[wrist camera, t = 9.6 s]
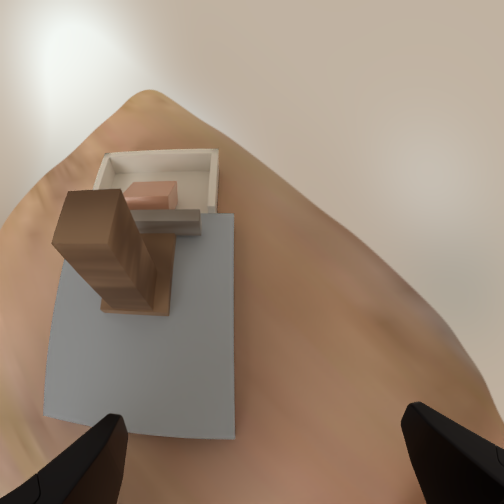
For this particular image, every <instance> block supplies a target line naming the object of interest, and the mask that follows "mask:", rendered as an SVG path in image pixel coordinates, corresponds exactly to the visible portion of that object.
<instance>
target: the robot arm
mask: <svg viewBox="0 0 504 504" xmlns="http://www.w3.org/2000/svg"><path fill="white" fill-rule="evenodd" d="M401 428H402V431H403V435H404V439H405V442H406V446H407V450H408V453H409V457H410V461H411V463H412V466H413V469H414V471H415V474H416V477H417V479H418V482H419V484H420V487H421V490H422V492H423V495H424V498H425V500H426V503H427V504H504V449H502V448H500V447H499V446H495V444H493V443H491V442H489V441H488V440H486V439H484V438H482V437H480V436H479V435H477V434H475V433H473V432H472V431H470V430H468V429H466V428H465V427H463V426H461V425H459V424H458V423H456V422H454V421H453V420H451V419H449V418H447V417H446V416H444V415H442V414H441V413H439V412H437V411H435V410H434V409H432V408H430V407H429V406H427V405H425V404H424V403H422V402H414V403H410V404H409V405H408V406H407V408H406V410H405V413H404V415H403V417H402V420H401ZM127 442H128V431H127V428H126V425H125V422H124V419H123V417H122V415H120V414H114V413H109V414H107V415H106V416H105V417H103V418H102V419H101V420H100V421H99V422H98V423H96V424H95V425H94V426H93V427H92V428H90V429H89V430H88V431H87V432H86V433H85V434H83V435H82V436H81V437H80V438H79V439H77V440H76V441H75V442H74V443H73V444H71V445H70V446H69V447H68V448H67V449H65V450H64V451H63V452H62V453H61V454H59V455H58V456H57V457H56V458H54V459H53V460H52V461H51V462H50V463H48V464H47V465H46V466H45V467H43V468H42V469H41V470H40V471H38V474H35V475H33V476H32V477H31V478H30V479H28V480H27V481H26V482H24V483H23V484H22V485H20V486H19V487H18V488H16V489H15V490H13V491H11V492H10V493H8V494H7V495H5V496H3V497H2V498H0V504H117V500H118V495H119V491H120V487H121V483H122V479H123V473H124V465H125V457H126V449H127Z"/></svg>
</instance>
